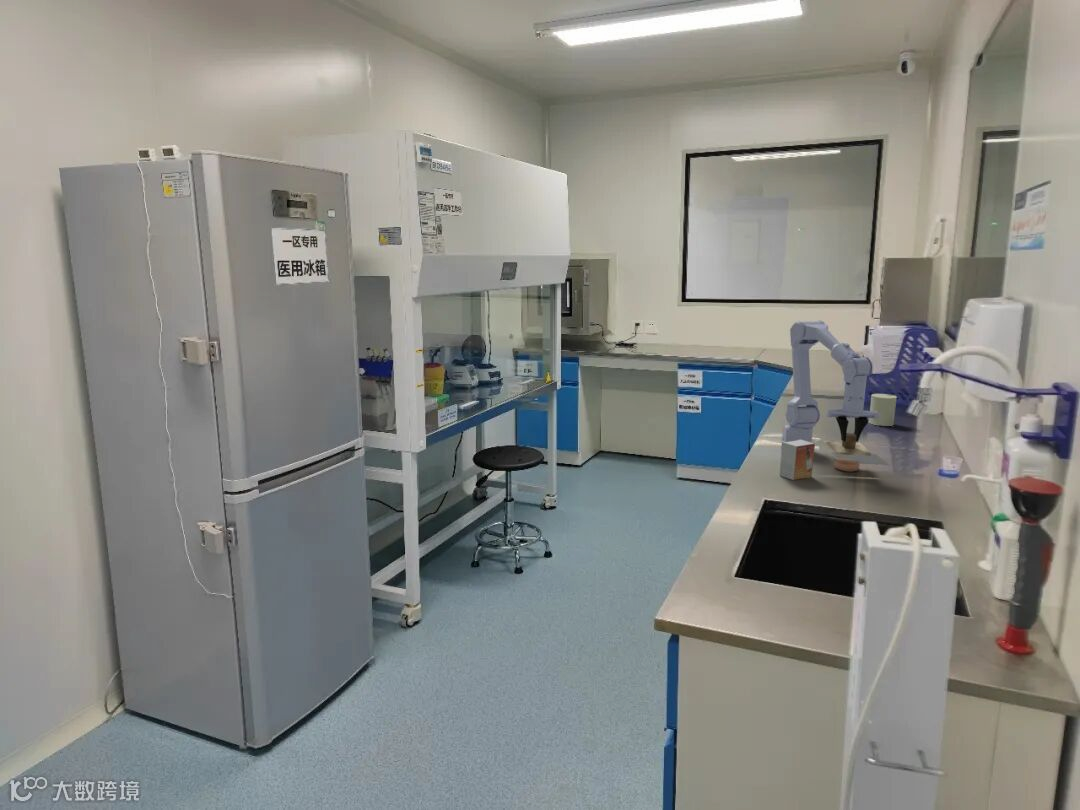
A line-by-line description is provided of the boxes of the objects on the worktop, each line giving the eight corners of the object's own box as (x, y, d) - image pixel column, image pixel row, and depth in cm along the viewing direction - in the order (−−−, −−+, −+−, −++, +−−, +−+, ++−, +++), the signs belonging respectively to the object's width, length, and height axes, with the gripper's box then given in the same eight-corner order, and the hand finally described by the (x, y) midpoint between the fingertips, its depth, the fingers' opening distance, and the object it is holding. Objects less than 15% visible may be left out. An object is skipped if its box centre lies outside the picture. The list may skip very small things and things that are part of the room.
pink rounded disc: (837, 473, 211) (838, 464, 210) (831, 466, 217) (832, 457, 217) (861, 474, 210) (863, 465, 209) (854, 467, 217) (855, 458, 216)
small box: (793, 480, 204) (796, 446, 201) (778, 475, 208) (781, 441, 206) (812, 477, 207) (815, 443, 205) (797, 472, 212) (800, 438, 210)
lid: (835, 454, 208) (837, 439, 207) (826, 443, 218) (828, 429, 217) (870, 455, 207) (872, 440, 206) (859, 445, 217) (861, 430, 216)
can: (899, 425, 272) (902, 396, 270) (881, 427, 269) (885, 397, 266) (879, 420, 281) (883, 391, 278) (862, 422, 277) (866, 393, 275)
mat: (842, 464, 220) (843, 462, 220) (831, 454, 232) (832, 452, 232) (889, 466, 219) (889, 464, 219) (875, 455, 230) (875, 454, 230)
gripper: (832, 399, 206) (828, 443, 209) (884, 400, 204) (879, 445, 207) (826, 394, 213) (822, 437, 215) (875, 395, 211) (870, 439, 214)
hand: (849, 440), depth 212 cm, fingers closed on lid, 3 cm apart
